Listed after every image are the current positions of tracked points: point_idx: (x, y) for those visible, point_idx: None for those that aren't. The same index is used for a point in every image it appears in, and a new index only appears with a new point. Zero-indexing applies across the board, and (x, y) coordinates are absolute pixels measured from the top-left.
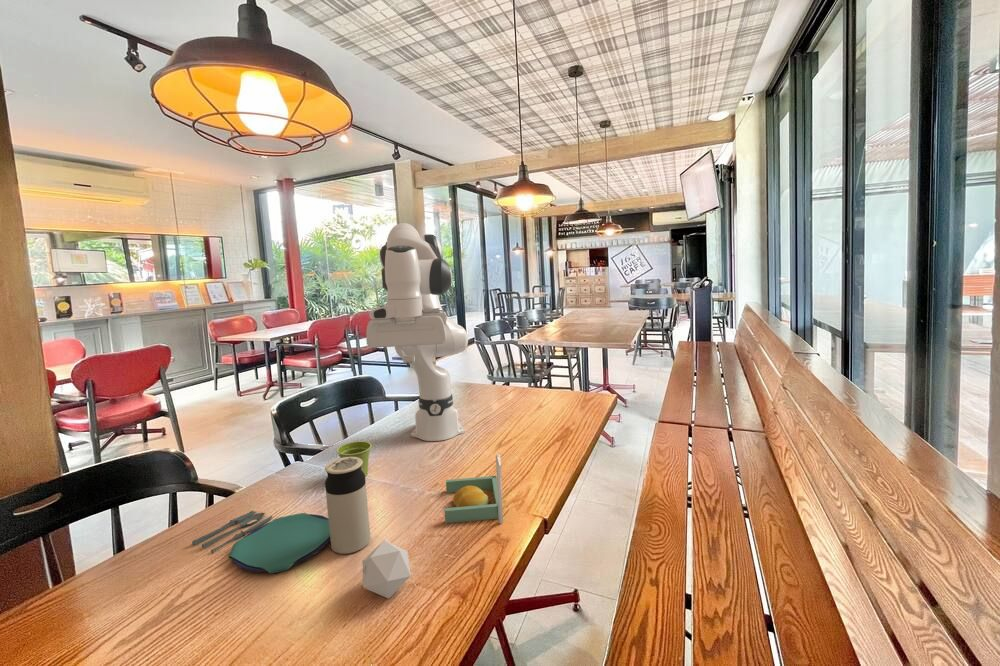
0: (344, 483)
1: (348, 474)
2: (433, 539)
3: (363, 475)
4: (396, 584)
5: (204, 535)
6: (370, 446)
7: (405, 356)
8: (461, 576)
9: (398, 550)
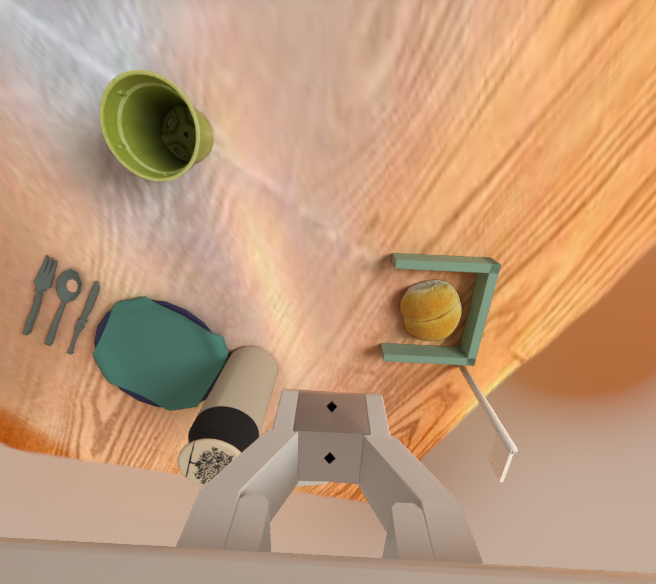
0: None
1: None
2: (362, 378)
3: None
4: None
5: (27, 320)
6: (197, 131)
7: (301, 474)
8: None
9: (325, 483)
